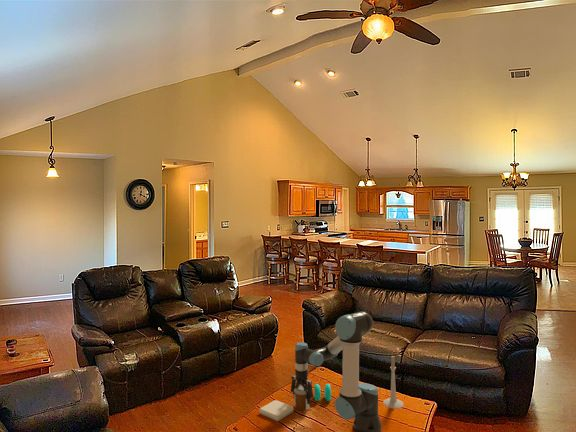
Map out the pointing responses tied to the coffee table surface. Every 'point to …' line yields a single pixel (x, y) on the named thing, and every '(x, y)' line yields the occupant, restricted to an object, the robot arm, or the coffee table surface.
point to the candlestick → (393, 390)
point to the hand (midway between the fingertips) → (301, 406)
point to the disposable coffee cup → (300, 397)
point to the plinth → (276, 410)
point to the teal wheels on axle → (318, 392)
